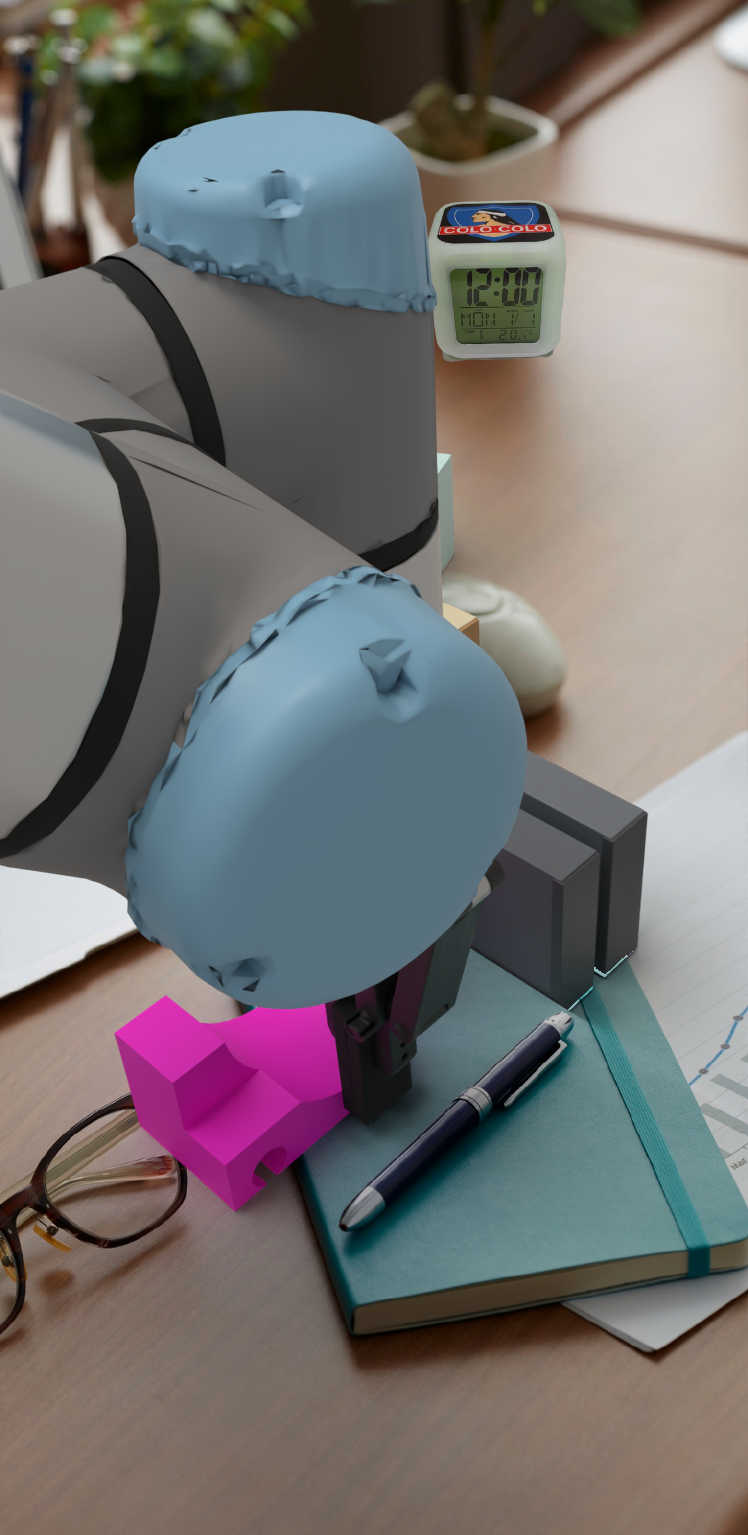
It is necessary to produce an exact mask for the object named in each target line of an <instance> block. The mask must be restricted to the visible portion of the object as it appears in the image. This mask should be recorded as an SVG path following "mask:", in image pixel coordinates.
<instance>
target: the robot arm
mask: <svg viewBox="0 0 748 1535" xmlns="http://www.w3.org/2000/svg"><path fill="white" fill-rule="evenodd" d="M411 153H412V152H411V151H410V149H408V147H407V146H406V144H405V143H404V142H403V141H402V140H401V139H400V138H399V137H398V136H397V135H395V134H394V133H393V132H391V131H390V130H389V129H387V128H385V127H383V126H382V125H379V124H377V123H374V122H371V121H369V120H365V119H361V118H358V117H356V116H354V115H353V116H352V115H350V114H345V113H337V112H330V111H317V110H316V111H315V110H281V111H279V110H277V111H264V112H263V111H262V112H254V113H247V114H239V115H233V116H228V117H224V118H220V119H215V120H211V121H207V122H202V123H199V124H195V125H192V126H190V127H187V128H184V129H183V131H182V132H181V133H179V134H178V135H177V136H176V137H172V138H171V137H170V138H167V139H165V140H162V141H158V142H156V143H155V144H154V145H153V146H152V147H150V148H149V149H148V150H147V152H146V153H145V154H144V155H143V156H142V157H141V158H140V161H139V163H138V164H137V168H136V171H135V174H134V176H133V177H134V178H133V196H134V197H133V198H134V217H133V218H132V220H131V223H132V232H133V236H137V243H134V244H133V245H131V246H130V247H128V248H126V249H123V250H120V251H116V252H113V253H110V254H107V255H103V256H101V257H100V258H98V259H97V260H96V261H95V262H94V263H90V264H86V265H83V266H80V267H78V268H76V269H75V268H74V269H71V270H68V271H63V272H61V273H58V274H54V275H50V276H47V277H44V278H40V279H36V280H33V281H29V282H26V283H22V284H19V285H15V286H11V287H7V288H4V289H0V866H2V867H4V868H5V867H6V868H10V869H17V870H26V871H31V872H38V873H44V874H45V873H46V874H50V875H51V874H52V875H58V876H65V877H72V878H78V879H85V880H87V881H91V882H94V883H96V884H97V883H98V884H100V885H102V886H104V887H107V888H109V889H110V890H112V891H114V892H116V893H117V894H119V895H120V896H122V897H123V898H125V900H126V901H127V907H126V908H127V910H126V913H127V914H128V916H129V918H130V919H131V921H132V923H133V924H134V926H135V927H136V928H137V931H138V932H139V933H140V934H141V935H142V936H143V937H144V938H146V939H147V940H148V942H150V943H153V944H155V945H158V946H161V947H163V948H165V949H166V950H171V952H173V953H174V954H175V955H176V957H178V958H179V959H180V961H182V963H183V964H184V965H185V966H186V967H187V968H188V969H189V970H190V971H191V972H192V973H193V974H194V975H195V976H196V977H197V978H199V979H201V980H202V981H203V982H205V983H206V984H208V985H209V986H210V987H212V988H213V989H215V990H216V991H218V992H220V993H222V994H224V995H225V996H228V997H229V998H231V999H233V1000H236V1001H237V1002H239V1003H241V1004H244V1005H248V1006H254V1007H256V1008H257V1007H261V1008H270V1009H297V1008H306V1007H313V1006H318V1005H321V1004H324V1003H325V1009H326V1015H327V1024H328V1027H329V1030H330V1032H331V1034H332V1036H333V1037H335V1043H336V1051H337V1058H338V1066H339V1073H340V1081H341V1088H342V1095H343V1103H344V1108H345V1109H346V1110H348V1111H349V1112H350V1113H349V1114H351V1115H353V1116H354V1117H355V1118H356V1119H358V1120H359V1121H360V1122H362V1123H363V1124H364V1125H365V1126H367V1127H369V1126H370V1125H371V1124H373V1122H375V1121H376V1120H377V1119H378V1118H379V1117H380V1116H382V1115H383V1114H384V1113H385V1112H386V1111H388V1110H389V1108H390V1107H392V1106H394V1104H395V1103H396V1102H398V1100H400V1099H401V1098H402V1097H403V1096H404V1095H405V1094H407V1093H408V1092H409V1091H410V1090H411V1089H412V1088H413V1081H412V1070H411V1061H412V1060H413V1059H414V1058H416V1055H417V1053H418V1044H417V1039H418V1038H419V1037H420V1036H421V1035H422V1034H423V1033H424V1032H426V1031H427V1030H428V1029H429V1028H430V1027H431V1026H432V1025H434V1024H435V1023H436V1022H437V1021H438V1020H440V1019H441V1018H442V1017H443V1016H445V1015H446V1014H447V1013H448V1012H449V1011H450V1010H451V1009H452V1008H453V1007H455V1005H456V1003H457V999H458V995H459V991H460V987H461V984H462V980H463V976H464V974H465V969H466V965H467V962H468V958H469V954H470V951H471V948H470V947H471V944H472V940H473V937H474V933H475V929H476V926H477V922H478V918H479V915H480V911H481V907H482V904H483V900H484V899H485V898H486V897H488V896H489V895H490V894H491V893H492V892H494V891H495V890H496V889H497V888H498V887H500V886H501V885H502V884H503V883H504V881H505V872H504V870H503V868H502V866H501V865H500V863H499V862H498V861H497V860H496V859H495V857H496V855H497V854H498V853H499V852H500V850H501V849H502V848H503V847H504V845H505V844H506V843H507V841H508V838H509V836H510V834H511V831H512V829H513V826H514V823H515V820H516V817H517V814H518V811H519V807H520V804H521V800H522V795H523V791H524V786H525V777H526V768H527V750H528V738H527V737H528V736H527V732H526V725H525V724H526V723H525V720H524V717H523V714H522V710H521V707H520V704H519V700H518V697H517V695H516V693H515V691H514V688H513V686H512V684H511V683H510V681H509V680H508V677H507V676H506V674H505V672H504V671H503V669H502V667H500V665H499V664H498V663H497V662H496V661H495V660H494V659H493V658H492V657H491V656H490V655H489V654H488V652H486V651H485V650H484V649H483V648H482V647H481V646H480V647H479V646H478V645H477V644H476V643H474V642H473V641H472V640H471V639H469V638H468V637H467V636H466V635H464V634H463V633H462V632H461V631H459V630H458V629H457V628H456V627H454V626H453V625H452V624H451V623H450V622H449V621H447V620H446V619H445V618H444V617H443V602H444V600H443V599H444V598H443V575H442V574H443V572H442V570H441V545H440V519H439V514H438V509H439V508H438V470H437V453H438V439H437V438H438V437H437V436H438V435H437V400H436V399H437V398H436V396H437V395H436V362H435V361H436V358H435V356H436V355H435V318H434V316H435V315H434V314H435V313H434V310H436V307H437V306H438V296H437V291H436V289H435V287H434V284H433V279H432V269H431V267H432V266H431V258H430V246H429V236H428V235H429V234H428V225H427V224H428V223H427V216H426V215H427V213H426V211H425V207H424V200H423V199H424V198H423V192H422V186H421V180H420V175H419V170H418V167H417V163H416V160H414V157H413V155H412V154H411Z"/></svg>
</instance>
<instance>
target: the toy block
mask: <svg viewBox="0 0 748 1535" xmlns="http://www.w3.org/2000/svg"><path fill="white" fill-rule="evenodd" d="M113 1034H114V1038H115V1041H116V1045H117V1048H118V1051H119V1056H120V1059H121V1063H122V1066H123V1070H124V1073H125V1078H126V1081H127V1084H128V1088H129V1091H130V1095H131V1100H132V1102H133V1105H134V1109H135V1113H136V1116H137V1121H138V1124H139V1127H140V1128H142V1129H143V1130H144V1131H145V1133H147V1134H148V1135H149V1136H151V1137H152V1139H154V1141H156V1142H157V1143H158V1144H159V1145H161V1146H162V1147H163V1148H164V1149H165V1150H166V1151H167V1152H168V1153H169V1154H170V1155H171V1156H173V1158H175V1159H176V1160H177V1161H178V1162H179V1163H180V1164H182V1166H184V1167H185V1168H186V1169H187V1170H188V1171H189V1172H190V1173H191V1174H193V1175H194V1176H195V1177H196V1178H197V1179H198V1180H199V1181H200V1182H201V1183H202V1184H204V1185H205V1186H206V1187H207V1188H208V1189H209V1190H210V1191H211V1192H213V1194H215V1195H216V1197H218V1198H219V1199H220V1200H221V1201H222V1202H224V1204H225V1205H227V1206H228V1207H229V1208H230V1209H231V1210H233V1211H234V1212H236V1211H238V1210H240V1208H242V1207H243V1206H244V1205H245V1204H246V1203H247V1202H248V1201H249V1200H251V1199H252V1198H253V1197H254V1196H256V1194H258V1192H260V1191H261V1190H263V1189H264V1188H265V1187H266V1186H267V1185H268V1183H267V1182H266V1181H265V1180H263V1179H262V1178H261V1177H260V1176H259V1175H258V1174H257V1173H255V1170H256V1169H257V1166H258V1164H260V1162H261V1163H262V1164H263V1165H264V1166H265V1167H267V1168H268V1169H269V1170H270V1171H271V1172H272V1173H274V1175H276V1176H278V1175H279V1174H281V1173H282V1172H283V1171H284V1170H285V1169H287V1167H289V1166H290V1165H291V1164H292V1163H293V1162H294V1161H296V1160H297V1159H298V1158H299V1157H300V1156H302V1155H303V1154H304V1153H305V1152H306V1151H307V1150H308V1149H309V1148H311V1147H312V1146H314V1144H316V1142H318V1141H319V1140H320V1139H322V1137H324V1136H325V1135H326V1134H327V1133H328V1132H329V1131H330V1130H331V1129H333V1128H334V1127H335V1126H336V1125H337V1124H338V1123H340V1122H341V1121H342V1120H343V1119H344V1118H346V1116H348V1115H349V1114H351V1113H350V1112H349V1111H348V1110H346V1109H345V1108H344V1103H343V1095H342V1088H341V1081H340V1073H339V1066H338V1058H337V1051H336V1043H335V1037H333V1036H332V1034H331V1032H330V1030H329V1027H328V1024H327V1015H326V1009H325V1003H324V1004H321V1005H318V1006H313V1007H306V1008H297V1009H270V1008H261V1007H257V1006H256V1008H254V1009H252V1010H250V1011H248V1012H246V1013H244V1014H242V1015H240V1016H237V1017H234V1018H232V1019H229V1020H224V1021H220V1022H211V1023H210V1022H200V1021H199V1020H198V1019H196V1018H195V1017H194V1016H193V1015H191V1014H190V1013H189V1012H188V1011H186V1009H184V1008H183V1007H182V1006H181V1005H179V1004H178V1003H177V1002H175V1001H174V1000H173V999H171V998H170V997H169V996H168V995H167V994H164V996H162V997H161V998H159V999H158V1000H156V1001H155V1002H154V1003H153V1004H152V1005H150V1006H149V1007H147V1008H146V1009H145V1010H143V1011H142V1012H140V1013H138V1015H136V1016H135V1017H133V1019H131V1020H130V1021H128V1022H127V1023H125V1024H124V1025H123V1026H122V1027H120V1028H118V1029H117V1030H116V1031H115V1032H114V1033H113Z"/></svg>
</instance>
